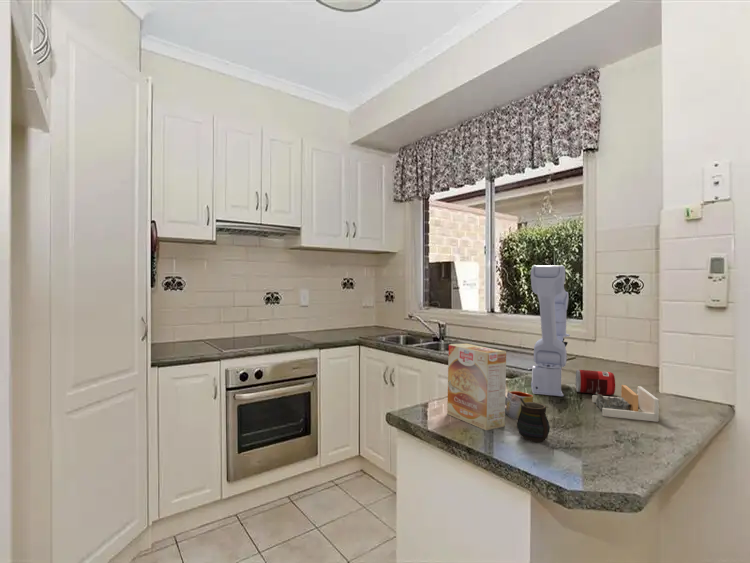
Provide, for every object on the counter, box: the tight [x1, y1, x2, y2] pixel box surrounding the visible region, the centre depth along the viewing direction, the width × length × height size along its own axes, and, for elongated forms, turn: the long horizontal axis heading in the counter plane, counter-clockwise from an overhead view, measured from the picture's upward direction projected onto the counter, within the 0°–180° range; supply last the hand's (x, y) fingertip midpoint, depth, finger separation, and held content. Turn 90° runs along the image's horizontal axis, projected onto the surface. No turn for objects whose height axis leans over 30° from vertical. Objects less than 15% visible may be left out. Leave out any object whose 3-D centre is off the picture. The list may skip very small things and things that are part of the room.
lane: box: [591, 385, 660, 423], centre depth 123 cm, size 14×16×6 cm
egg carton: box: [594, 392, 631, 410], centre depth 124 cm, size 11×8×4 cm
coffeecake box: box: [446, 342, 507, 431], centre depth 111 cm, size 15×7×20 cm, turn 31°
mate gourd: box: [516, 398, 551, 443], centre depth 99 cm, size 7×8×10 cm
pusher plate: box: [620, 384, 639, 411], centre depth 122 cm, size 1×13×6 cm, turn 163°
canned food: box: [575, 369, 616, 396], centre depth 143 cm, size 8×8×11 cm
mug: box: [505, 390, 534, 421], centre depth 116 cm, size 12×7×7 cm, turn 52°
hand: (557, 358), depth 156 cm, fingers open, 7 cm apart
